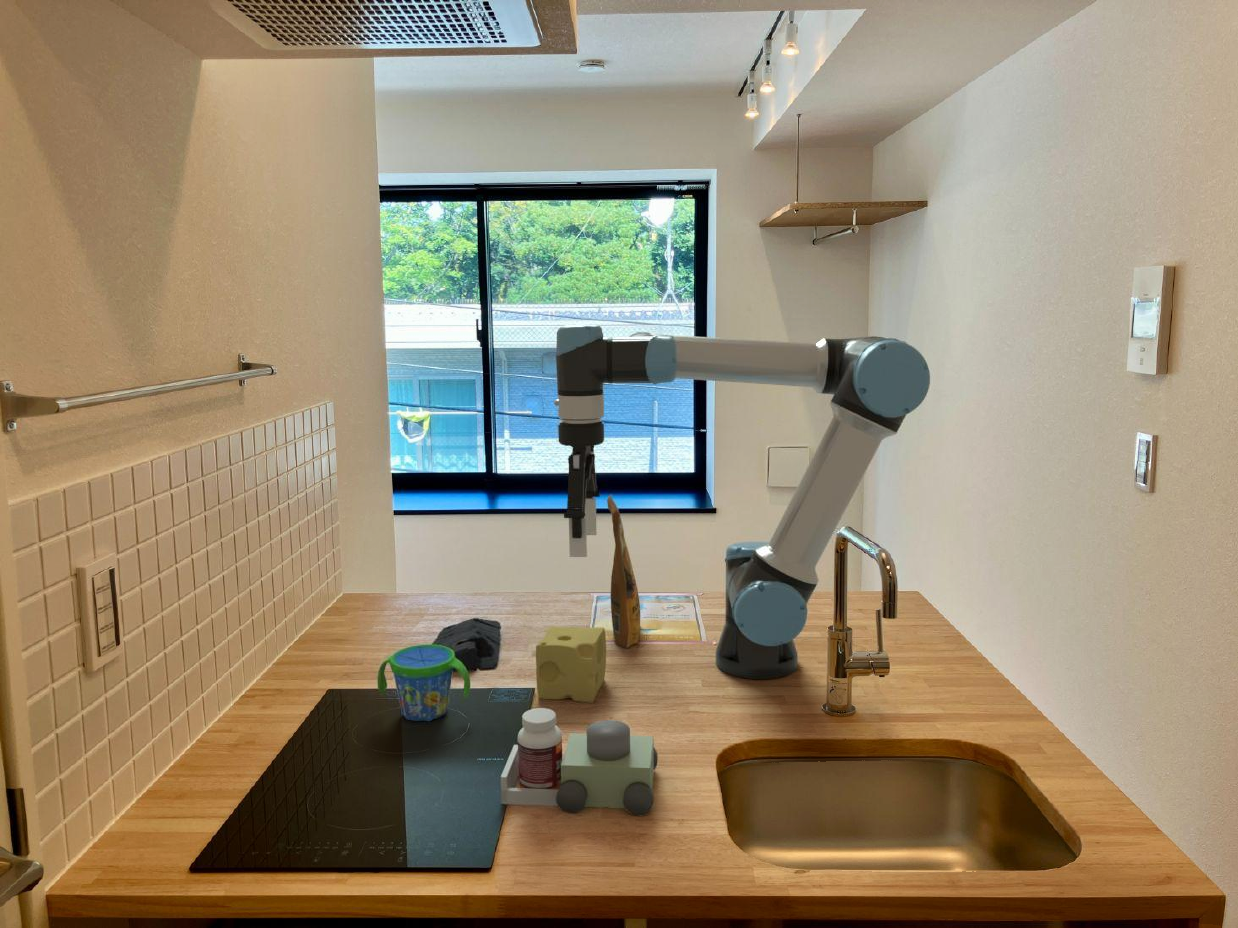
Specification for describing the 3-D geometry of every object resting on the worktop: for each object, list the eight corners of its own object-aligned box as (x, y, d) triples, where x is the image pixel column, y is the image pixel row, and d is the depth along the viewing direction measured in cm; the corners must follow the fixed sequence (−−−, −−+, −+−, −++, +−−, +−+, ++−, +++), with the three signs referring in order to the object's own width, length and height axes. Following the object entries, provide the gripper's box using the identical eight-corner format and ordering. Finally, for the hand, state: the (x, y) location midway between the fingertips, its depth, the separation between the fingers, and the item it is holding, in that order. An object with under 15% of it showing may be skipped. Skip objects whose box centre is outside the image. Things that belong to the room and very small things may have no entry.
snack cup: (482, 705, 155) (479, 648, 153) (452, 733, 145) (449, 673, 144) (400, 694, 160) (397, 639, 158) (367, 721, 150) (363, 662, 148)
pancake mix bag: (604, 651, 178) (602, 511, 173) (609, 617, 197) (607, 490, 192) (639, 651, 178) (637, 511, 173) (641, 617, 196) (639, 489, 191)
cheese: (594, 704, 155) (593, 648, 153) (533, 699, 157) (531, 644, 156) (607, 679, 165) (606, 626, 164) (550, 675, 167) (548, 623, 166)
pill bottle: (566, 797, 127) (564, 722, 125) (522, 803, 125) (519, 728, 123) (559, 774, 132) (557, 703, 130) (516, 780, 131) (514, 708, 129)
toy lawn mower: (657, 768, 134) (657, 711, 132) (653, 816, 121) (652, 753, 120) (517, 764, 135) (515, 707, 134) (499, 810, 123) (496, 748, 122)
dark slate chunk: (512, 631, 191) (511, 609, 190) (495, 674, 169) (494, 650, 168) (439, 631, 191) (438, 609, 190) (413, 674, 170) (411, 650, 169)
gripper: (569, 410, 163) (571, 526, 167) (545, 431, 139) (549, 566, 142) (611, 410, 162) (613, 526, 166) (594, 431, 138) (597, 566, 142)
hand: (583, 545), depth 154 cm, fingers open, 13 cm apart
